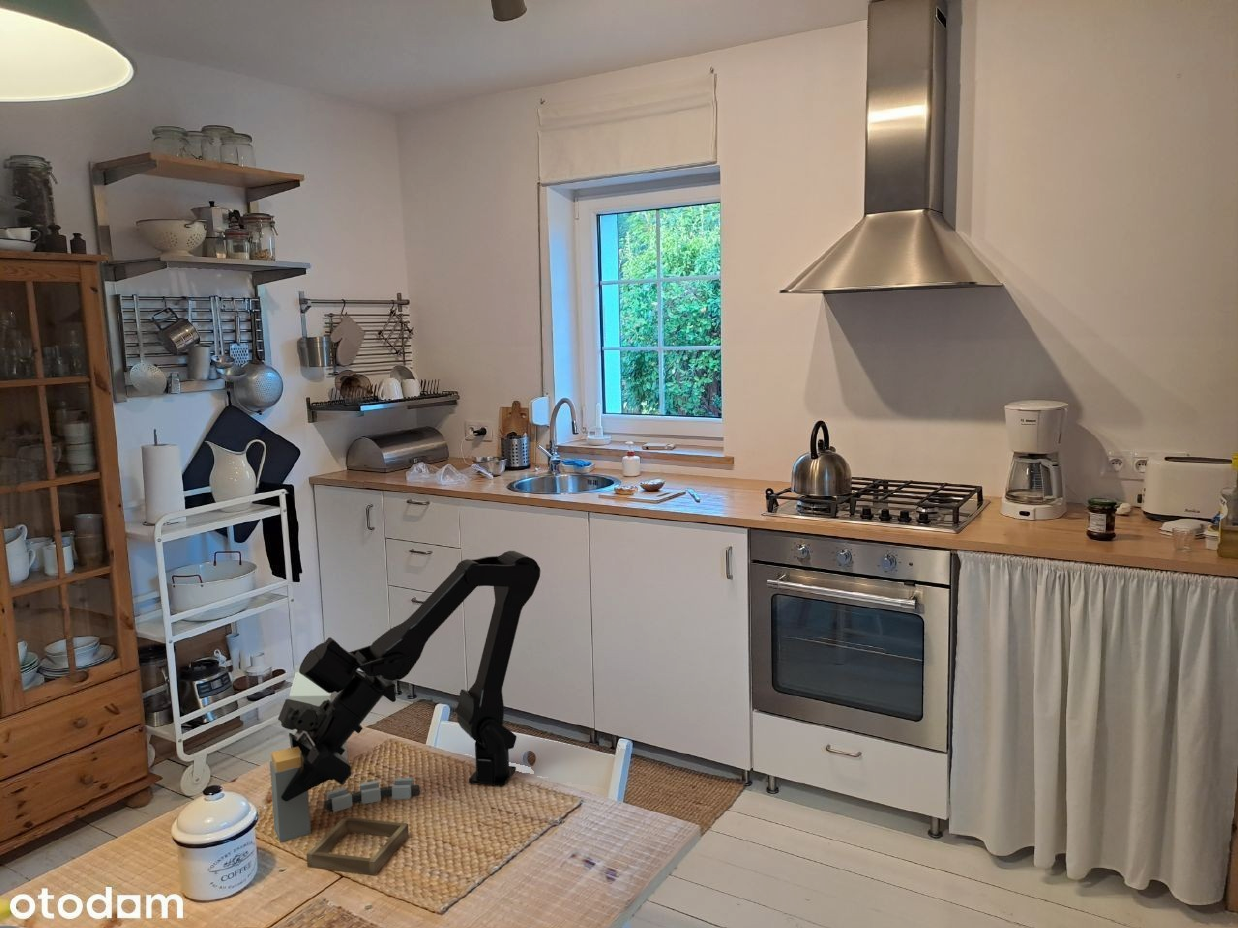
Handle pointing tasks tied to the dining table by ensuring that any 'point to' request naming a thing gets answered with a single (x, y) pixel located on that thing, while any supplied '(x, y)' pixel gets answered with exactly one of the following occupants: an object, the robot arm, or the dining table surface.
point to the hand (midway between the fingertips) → (280, 793)
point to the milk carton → (310, 695)
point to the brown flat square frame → (352, 863)
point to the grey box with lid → (295, 812)
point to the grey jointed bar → (370, 794)
